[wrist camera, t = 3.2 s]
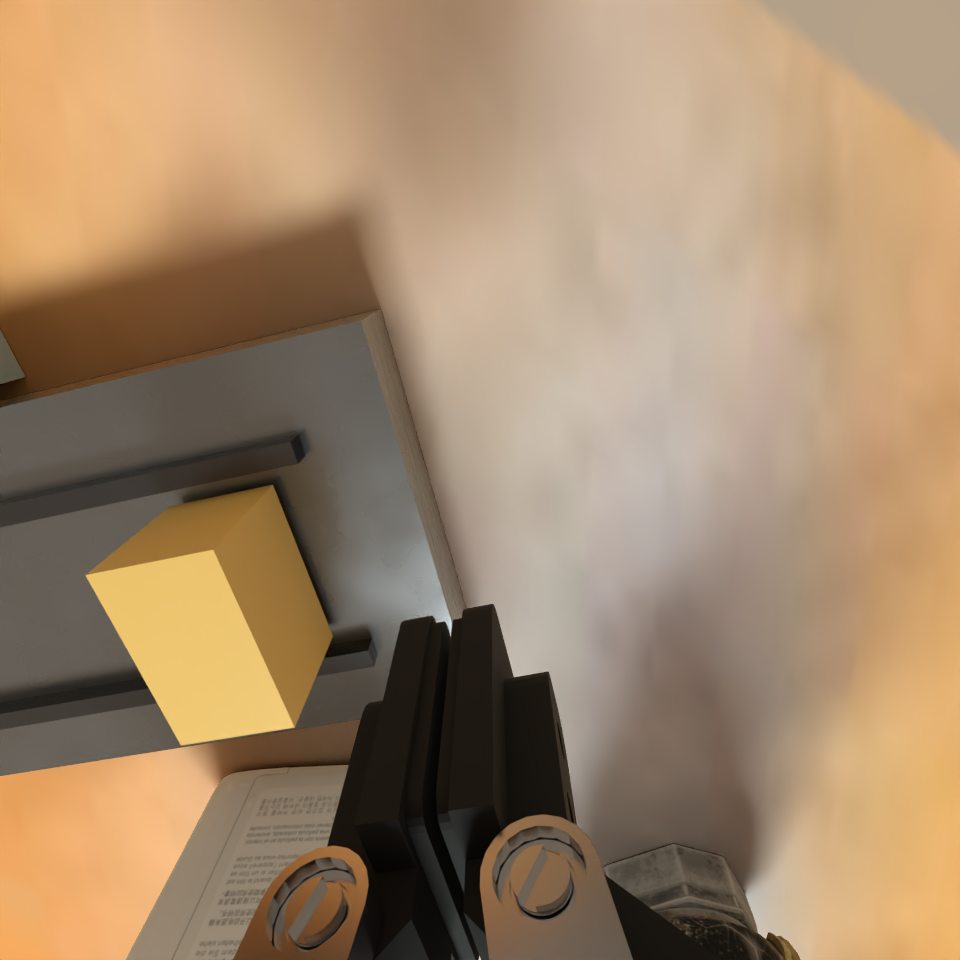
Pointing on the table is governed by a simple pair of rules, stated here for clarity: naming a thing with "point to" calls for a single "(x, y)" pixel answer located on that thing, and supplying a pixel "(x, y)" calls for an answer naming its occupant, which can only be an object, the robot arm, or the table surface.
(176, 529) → the block
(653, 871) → the lantern
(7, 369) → the post
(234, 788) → the photo printer
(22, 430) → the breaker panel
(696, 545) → the table surface
